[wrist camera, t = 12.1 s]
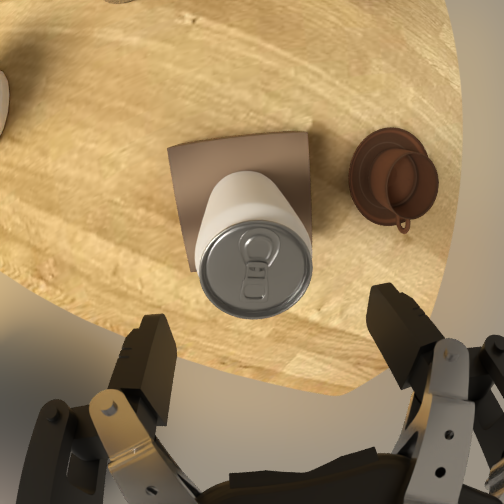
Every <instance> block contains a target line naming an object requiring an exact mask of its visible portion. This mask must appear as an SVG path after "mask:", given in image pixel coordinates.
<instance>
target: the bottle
mask: <svg viewBox="0 0 504 504" xmlns="http://www.w3.org/2000/svg"><path fill="white" fill-rule="evenodd" d="M9 96H10V95H9V86H8V81H7V79H6V77H5V75H4V73H3V72H2V71H0V135H1V133H2V131H3V129H4V125H5V121H6V117H7V114H8V106H9Z"/></svg>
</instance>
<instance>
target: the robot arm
mask: <svg viewBox="0 0 504 504" xmlns="http://www.w3.org/2000/svg"><path fill="white" fill-rule="evenodd" d="M104 1H106V2H109V3H125V2H129V1H132V0H104ZM366 324H367V328H368V330H369V332H370V334H371V336H372V337H373V339H374V341H375V343H376V345H377V346H378V348H379V350H380V352H381V353H382V355H383V357H384V359H385V361H386V363H387V364H388V366H389V368H390V370H391V372H392V374H393V376H394V377H395V379H396V381H397V383H398V385H399V387H400V389H401V390H403V389H406V388H408V387H412V389H413V393H412V395H411V399H410V403H409V407H408V411H407V414H406V418H405V421H404V425H403V428H402V431H401V434H400V437H399V439H398V441H397V443H396V445H395V446H394V449H393V451H392V453H391V454H390V453H378V454H377V452H376V449H375V447H371V448H368V449H365V450H362V451H358V452H355V453H351V454H348V455H344V456H341V457H339V458H337V459H335V460H333V461H331V462H329V463H327V464H325V465H323V466H320V467H318V468H316V469H314V470H312V471H309V472H305V473H295V472H278V471H267V470H265V471H256V472H243V473H230V474H229V481H225V482H222V483H220V484H217V485H215V486H213V487H211V488H209V489H207V490H206V491H204V492H201V491H200V489H199V488H198V487H197V486H196V485H195V484H194V483H193V482H192V481H191V480H190V479H189V478H188V476H186V474H185V473H184V472H183V471H182V470H181V468H180V467H179V466H178V465H177V463H176V462H175V461H174V459H173V458H172V457H171V456H170V454H169V453H168V452H167V450H166V449H165V447H164V446H163V445H162V443H161V442H160V440H159V439H158V438H157V436H156V435H155V432H156V426H167V419H168V412H169V404H170V397H171V391H172V384H173V377H174V371H175V365H176V359H177V348H176V343H175V340H174V338H173V335H172V333H171V330H170V327H169V325H168V322H167V319H166V317H165V315H164V314H151V315H144V317H143V319H142V322H141V324H140V327H139V328H137V329H133V330H132V331H131V332H130V333H129V335H128V336H127V337H126V338H125V341H124V343H123V346H122V350H121V351H120V354H119V358H118V360H117V363H116V366H115V368H114V371H113V374H112V377H111V380H110V383H109V386H108V388H107V390H104V391H101V392H100V393H98V394H97V395H95V396H94V397H93V399H92V400H91V402H90V405H85V406H80V407H74V408H70V407H69V406H68V405H67V404H66V403H65V402H64V401H62V400H59V399H54V400H51V401H49V402H48V403H46V404H45V405H44V406H43V407H42V409H41V410H40V413H39V416H38V419H37V422H36V424H35V428H34V430H33V434H32V437H31V440H30V444H29V447H28V451H27V454H26V458H25V462H24V467H23V470H22V474H21V479H20V484H19V489H18V495H17V501H16V504H103V494H104V484H105V475H106V467H107V460H108V458H110V460H111V462H110V463H108V468H109V471H110V473H111V475H112V477H113V478H114V480H115V482H116V484H117V486H118V487H119V489H120V491H121V493H122V494H123V496H124V498H125V499H126V501H127V502H128V504H504V412H503V410H502V409H501V407H500V405H499V403H498V401H497V400H496V398H495V396H494V394H493V393H492V391H491V387H492V386H493V385H494V383H495V385H496V386H497V388H498V390H499V391H500V393H501V395H502V396H503V398H504V337H502V336H500V335H491V336H489V337H487V339H486V340H485V342H484V344H483V346H482V347H473V348H466V346H465V345H464V344H463V343H461V342H460V341H458V340H456V339H452V338H446V339H445V337H444V336H443V335H442V334H441V332H440V331H439V330H438V329H437V327H436V326H435V325H434V324H433V322H432V321H431V320H430V319H429V317H428V316H427V315H425V312H424V311H423V310H422V309H421V308H420V306H419V305H418V304H417V303H416V302H415V301H414V299H413V298H411V297H409V296H408V295H406V294H405V293H403V292H402V293H399V292H398V290H397V289H396V288H395V287H394V286H393V284H392V283H384V284H379V285H374V286H372V287H371V290H370V296H369V302H368V308H367V314H366ZM473 430H474V433H475V434H476V437H477V439H478V441H479V444H480V446H481V448H482V451H483V453H484V456H485V458H486V461H487V463H488V466H489V468H490V473H489V478H488V479H487V480H486V482H485V488H486V489H487V490H489V494H488V493H485V492H482V491H480V490H477V489H475V488H472V487H469V486H467V485H465V484H463V480H464V476H465V471H466V467H467V462H468V457H469V451H470V446H471V439H472V431H473ZM70 452H72V453H71V458H70V463H69V468H68V473H67V475H66V472H67V466H68V461H69V457H70Z"/></svg>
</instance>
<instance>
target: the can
mask: <svg viewBox="0 0 504 504" xmlns="http://www.w3.org/2000/svg"><path fill="white" fill-rule="evenodd" d="M195 266H196V270H197V273H198V276H199V278H200V283H201V286H202V289H203V291H204V293H205V295H206V296H207V298H208V299H209V300H210V301H211V302H212V303H213V304H214V305H215V306H216V307H217V308H219V309H220V310H221V311H223V312H225V313H227V314H229V315H232V316H235V317H238V318H243V319H264V318H269V317H272V316H275V315H278V314H280V313H282V312H284V311H286V310H288V309H289V308H291V307H292V306H293V305H294V304H296V303H297V302H298V301H299V300H300V298H301V297H302V296H303V295H304V293H305V292H306V290H307V288H308V286H309V284H310V281H311V277H312V269H313V266H312V245H311V241H310V238H309V235H308V233H307V231H306V229H305V227H304V225H303V223H302V222H301V220H300V219H299V217H298V216H297V214H296V213H295V211H294V210H293V208H292V207H291V206H290V204H289V203H288V201H287V200H286V198H285V197H284V196H283V194H282V193H281V191H280V190H279V189H278V187H277V186H276V185H275V184H274V183H273V182H272V181H271V180H270V179H269V178H268V177H266V176H264V175H263V174H261V173H258V172H254V171H240V172H235V173H232V174H229V175H228V176H226V177H224V178H223V179H222V180H220V181H219V182H218V184H217V185H216V186H215V187H214V189H213V191H212V193H211V195H210V198H209V201H208V204H207V207H206V210H205V213H204V217H203V220H202V224H201V227H200V231H199V234H198V238H197V242H196V247H195Z"/></svg>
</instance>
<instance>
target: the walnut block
mask: <svg viewBox="0 0 504 504" xmlns="http://www.w3.org/2000/svg"><path fill="white" fill-rule="evenodd" d="M167 151H168V157H169V164H170V170H171V176H172V182H173V188H174V193H175V199H176V204H177V209H178V215H179V220H180V225H181V230H182V235H183V239H184V244H185V249H186V253H187V258H188V262H189V267H190V271H191V272H197V270H196V266H195V247H196V242H197V238H198V234H199V231H200V227H201V224H202V220H203V217H204V213H205V210H206V207H207V204H208V201H209V198H210V195H211V193H212V191H213V189H214V187H215V186H216V185H217V184H218V182H219V181H220V180H222V179H223V178H224V177H226V176H228V175H229V174H232V173H235V172H240V171H254V172H258V173H261V174H263V175H264V176H266V177H268V178H269V179H270V180H271V181H272V182H273V183H274V184H275V185H276V186H277V187H278V189H279V190H280V191H281V193H282V194H283V196H284V197H285V198H286V200H287V201H288V203H289V204H290V206H291V207H292V208H293V210H294V211H295V213H296V214H297V216H298V217H299V219H300V220H301V222H302V223H303V225H304V227H305V229H306V231H307V233H308V235H309V238H310V241H311V245H312V211H311V183H310V163H309V147H308V133H307V132H300V131H283V132H269V133H257V134H247V135H238V136H229V137H221V138H214V139H207V140H201V141H194V142H188V143H182V144H178V145H175V146H172V147H169V148H167Z"/></svg>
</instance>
